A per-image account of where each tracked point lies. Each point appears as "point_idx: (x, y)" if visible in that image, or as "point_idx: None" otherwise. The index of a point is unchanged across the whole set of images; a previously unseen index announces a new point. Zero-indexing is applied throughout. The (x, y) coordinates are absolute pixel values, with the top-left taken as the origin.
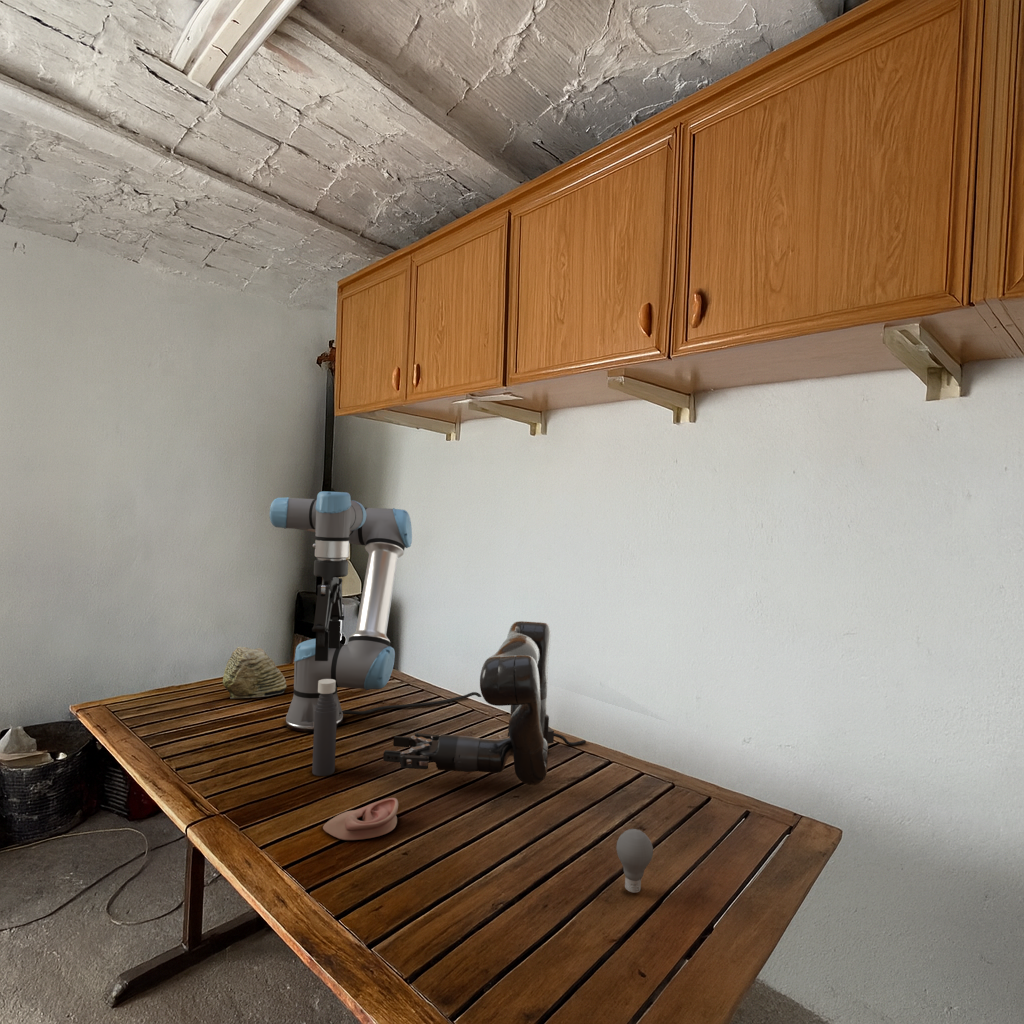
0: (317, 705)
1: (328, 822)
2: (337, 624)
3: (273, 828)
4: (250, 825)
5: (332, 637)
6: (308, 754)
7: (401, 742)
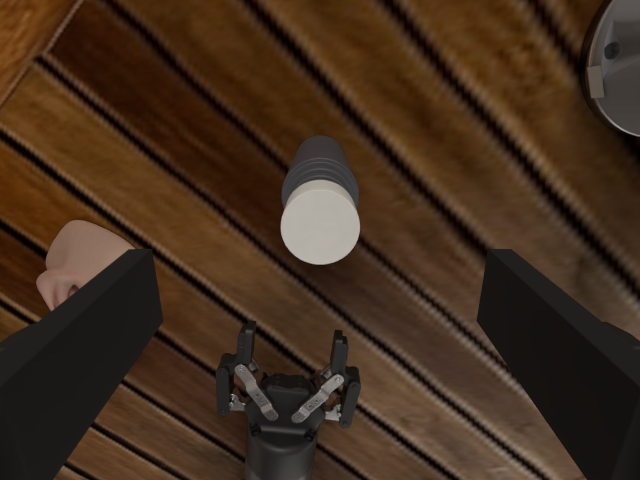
0: (297, 175)
1: (77, 230)
2: (584, 447)
3: (57, 126)
4: (56, 74)
5: (520, 320)
6: (421, 97)
7: (332, 350)
